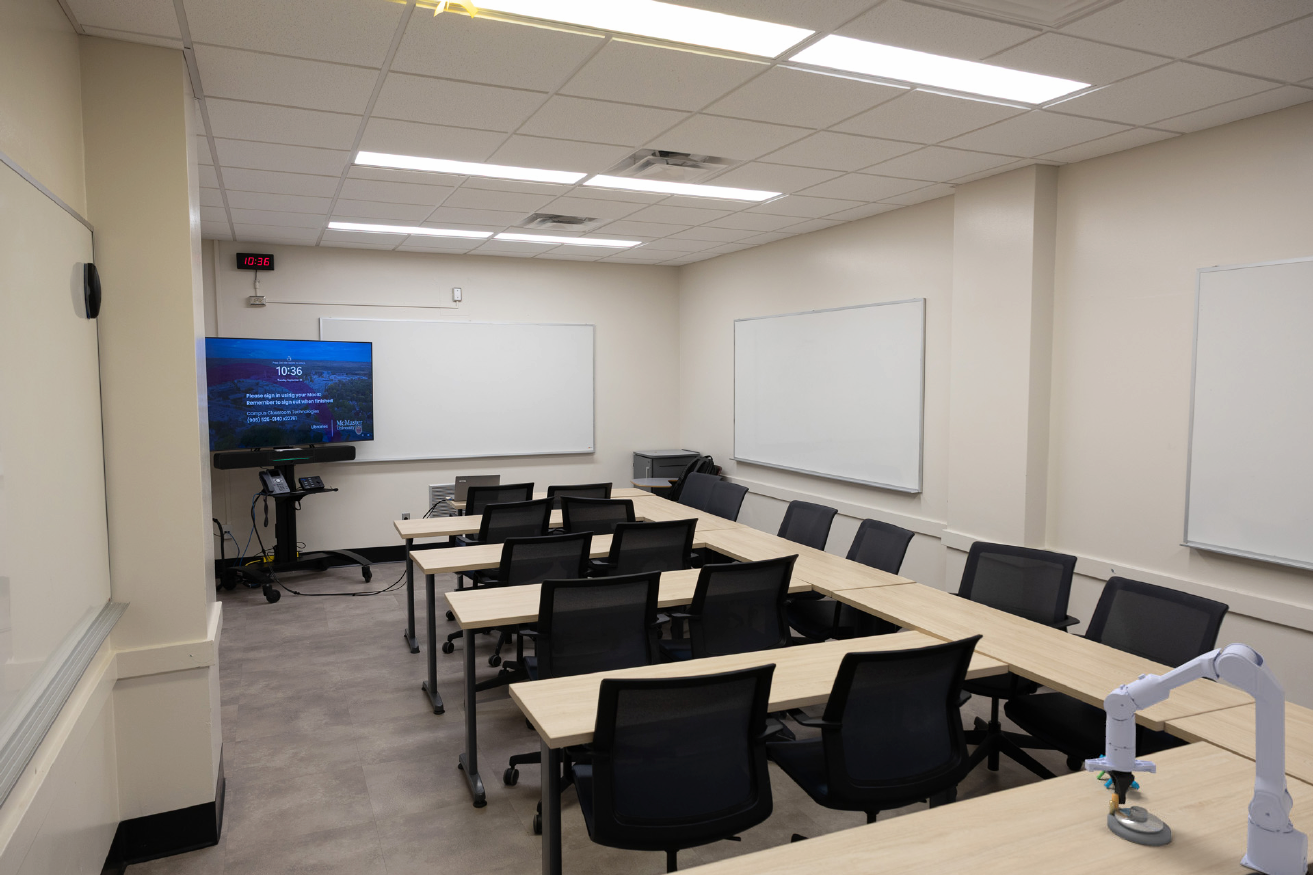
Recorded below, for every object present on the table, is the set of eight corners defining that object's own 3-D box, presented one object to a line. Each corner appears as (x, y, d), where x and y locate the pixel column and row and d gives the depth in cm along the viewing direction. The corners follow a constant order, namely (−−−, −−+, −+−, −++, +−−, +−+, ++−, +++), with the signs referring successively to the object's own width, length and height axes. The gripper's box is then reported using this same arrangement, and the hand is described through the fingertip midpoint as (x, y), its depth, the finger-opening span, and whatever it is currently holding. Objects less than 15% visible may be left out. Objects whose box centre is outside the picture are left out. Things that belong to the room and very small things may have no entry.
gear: (1150, 791, 185) (1118, 760, 186) (1133, 809, 185) (1101, 778, 186) (1123, 775, 196) (1093, 746, 197) (1107, 792, 196) (1077, 763, 197)
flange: (1172, 827, 169) (1173, 811, 169) (1145, 837, 165) (1146, 820, 165) (1124, 804, 179) (1124, 788, 179) (1097, 812, 175) (1098, 797, 175)
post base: (1178, 831, 171) (1179, 811, 170) (1160, 852, 163) (1161, 831, 163) (1118, 810, 180) (1118, 791, 180) (1098, 829, 172) (1099, 809, 172)
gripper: (1144, 736, 179) (1143, 793, 180) (1078, 734, 180) (1078, 792, 181) (1161, 749, 172) (1160, 809, 173) (1093, 748, 173) (1093, 807, 174)
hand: (1119, 801), depth 176 cm, fingers closed, pressing on flange
